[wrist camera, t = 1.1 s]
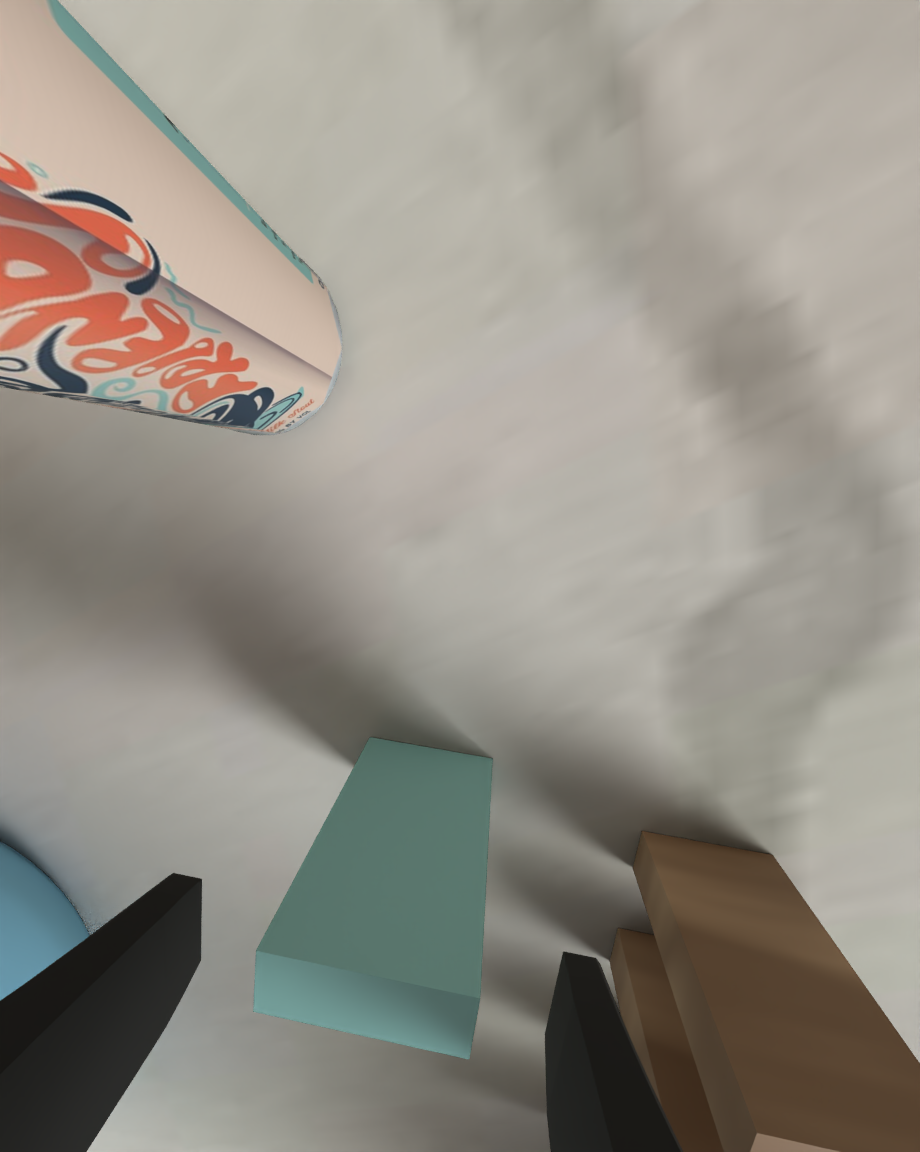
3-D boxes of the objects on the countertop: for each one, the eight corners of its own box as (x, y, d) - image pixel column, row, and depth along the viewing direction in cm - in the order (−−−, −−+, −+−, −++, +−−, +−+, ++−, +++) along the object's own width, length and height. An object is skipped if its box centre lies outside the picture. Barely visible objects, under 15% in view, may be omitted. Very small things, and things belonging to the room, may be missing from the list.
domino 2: (760, 892, 15) (978, 1246, 8) (632, 867, 15) (736, 1189, 8) (772, 854, 14) (1008, 1190, 8) (642, 830, 15) (756, 1132, 8)
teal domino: (486, 796, 15) (469, 1060, 8) (366, 775, 15) (253, 1011, 9) (492, 758, 15) (479, 998, 8) (369, 736, 15) (256, 950, 8)
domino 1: (730, 985, 16) (904, 1380, 9) (609, 961, 16) (686, 1325, 9) (741, 952, 15) (929, 1334, 8) (617, 927, 16) (704, 1278, 9)
